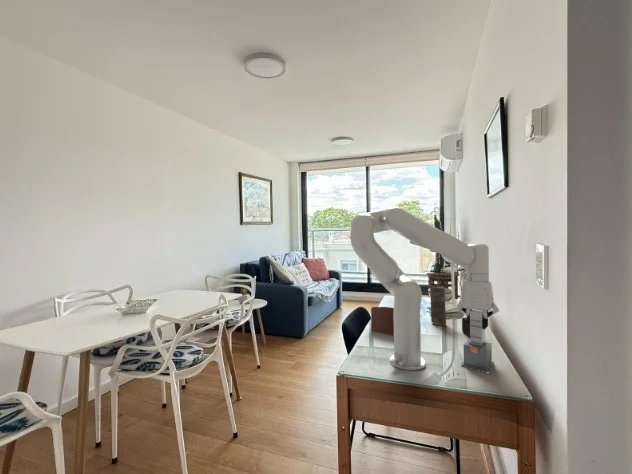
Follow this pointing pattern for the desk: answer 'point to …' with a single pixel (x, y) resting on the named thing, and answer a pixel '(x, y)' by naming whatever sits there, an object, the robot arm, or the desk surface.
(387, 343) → the desk surface
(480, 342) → the column
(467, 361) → the stand base
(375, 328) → the letter holder
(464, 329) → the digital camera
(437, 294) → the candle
